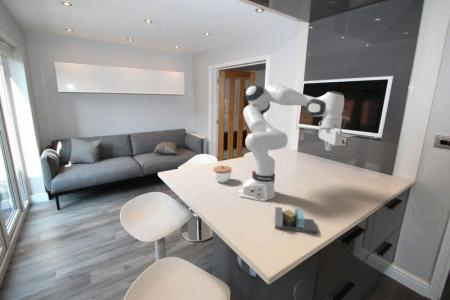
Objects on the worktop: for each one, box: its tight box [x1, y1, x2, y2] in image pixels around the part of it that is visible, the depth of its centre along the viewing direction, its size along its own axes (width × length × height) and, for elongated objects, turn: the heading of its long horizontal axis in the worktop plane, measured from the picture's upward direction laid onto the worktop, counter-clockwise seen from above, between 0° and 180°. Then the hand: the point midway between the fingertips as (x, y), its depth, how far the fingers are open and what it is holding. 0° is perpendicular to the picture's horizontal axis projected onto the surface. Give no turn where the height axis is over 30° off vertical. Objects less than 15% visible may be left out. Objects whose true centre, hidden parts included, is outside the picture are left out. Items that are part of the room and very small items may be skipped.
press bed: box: [274, 206, 318, 235], centre depth 101 cm, size 18×9×6 cm, turn 79°
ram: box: [294, 208, 306, 228], centre depth 101 cm, size 3×8×4 cm, turn 169°
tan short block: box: [282, 209, 297, 226], centre depth 101 cm, size 5×4×4 cm
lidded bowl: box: [213, 165, 233, 184], centre depth 152 cm, size 13×13×11 cm
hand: (327, 150), depth 115 cm, fingers closed
